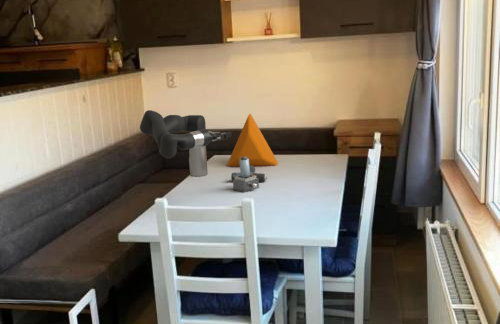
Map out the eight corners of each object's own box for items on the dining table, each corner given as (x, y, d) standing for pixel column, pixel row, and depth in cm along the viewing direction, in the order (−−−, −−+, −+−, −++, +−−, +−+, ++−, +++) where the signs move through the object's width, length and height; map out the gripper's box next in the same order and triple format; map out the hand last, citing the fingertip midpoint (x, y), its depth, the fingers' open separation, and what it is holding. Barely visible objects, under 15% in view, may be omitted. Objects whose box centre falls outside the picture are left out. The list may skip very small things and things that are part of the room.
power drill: (274, 174, 303) (266, 184, 284) (241, 173, 307) (231, 183, 288) (273, 164, 301) (265, 174, 282) (240, 164, 306) (230, 173, 287)
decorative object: (225, 168, 320) (221, 117, 314) (229, 162, 335) (226, 113, 329) (276, 167, 316) (274, 115, 309) (278, 161, 331) (276, 111, 324)
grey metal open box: (233, 189, 275) (232, 177, 273) (247, 185, 282) (246, 172, 280) (249, 193, 267) (248, 180, 266) (263, 188, 274) (262, 175, 272)
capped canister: (238, 179, 274) (237, 157, 272) (245, 177, 277) (243, 155, 275) (245, 180, 271) (243, 158, 268) (252, 178, 274) (250, 156, 272)
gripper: (207, 132, 244) (234, 126, 255) (187, 129, 253) (213, 124, 265) (209, 148, 245) (235, 142, 256) (188, 145, 255) (214, 139, 266)
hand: (224, 133), depth 260 cm, fingers open, 8 cm apart
